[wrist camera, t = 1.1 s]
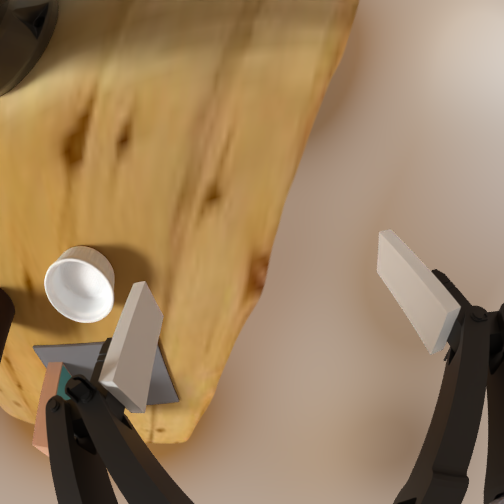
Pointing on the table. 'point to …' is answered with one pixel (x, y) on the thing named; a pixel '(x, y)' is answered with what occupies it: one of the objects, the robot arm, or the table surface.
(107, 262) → the ramekin
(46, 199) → the table surface
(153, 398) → the mat
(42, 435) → the tile
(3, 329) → the coffee mug
